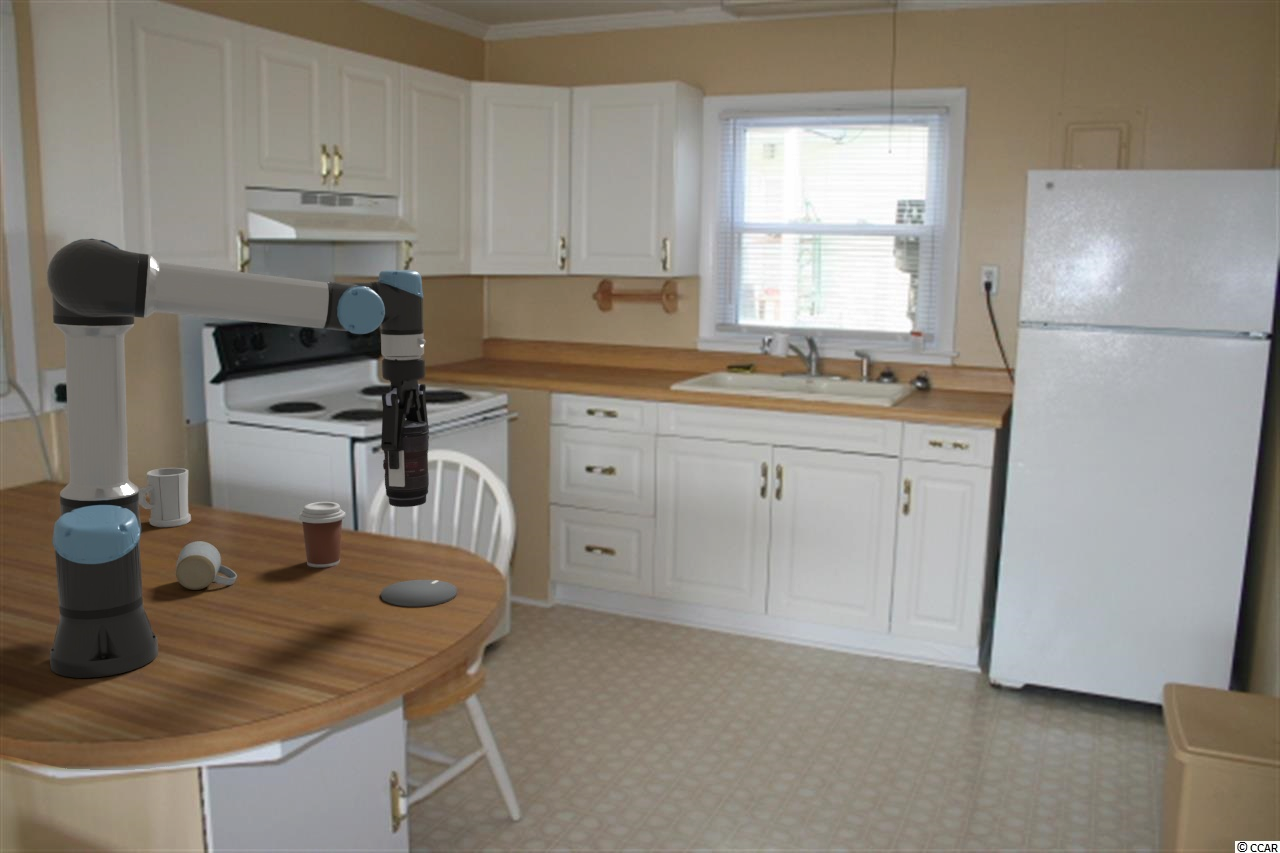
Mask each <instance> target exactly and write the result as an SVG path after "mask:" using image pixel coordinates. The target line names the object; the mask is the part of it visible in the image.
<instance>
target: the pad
mask: <svg viewBox="0 0 1280 853" xmlns="http://www.w3.org/2000/svg"><path fill="white" fill-rule="evenodd" d="M457 595H458V588H457V587H456V585H454V584H452V583H450V582H448V581H443V580H438V579H437V580H436V579H410V580H404V581H398V582H395V583H392V584H389V585H387V586H386V587H384V588H383V589H382V590H381V592H380V598H381V600H382V601H383V602H385V603H388V604H389V605H393V606H398V607H407V608H408V607H409V608H410V607H411V608H412V607H413V608H416V607H417V608H419V607H430V606H431V607H432V606H436V605H440V604H444V603H447V602H450V601H451V600H453V599H455V598H456V597H457Z"/></svg>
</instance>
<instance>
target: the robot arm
mask: <svg viewBox="0 0 1280 853" xmlns="http://www.w3.org/2000/svg"><path fill="white" fill-rule="evenodd" d="M46 273H47V275H46V276H47V278H46V280H47V284H48V288H49V290H50V292H51V295H52V296H51V297H52V301H51V302H52V319H53V322H52V324H53V325H54V327H55V328H57V329H58V330H59V331H60V332H61V333H62V334H63V336H64V349H65V350H64V351H65V352H64V355H65V376H66V378H65V380H66V385H65V386H66V405H67V406H66V408H67V412H66V413H67V431H68V432H67V434H68V459H69V460H68V461H69V462H68V463H69V482H68V484H67V485H66V486H64V488H62V490H60V492H59V500H60V502H59V503H60V516H59V518H57V520H55V523H54V527H53V535H52V544H53V547H54V554H55V566H56V568H55V569H56V579H57V580H56V581H57V591H58V592H57V593H58V594H57V595H58V596H57V597H58V608H59V610H58V611H59V619H58V620H59V621H58V623H57V627H56V632H55V637H54V642H53V645H52V646H51V648H50V652H49V660H50V661H49V663H50V669H51V671H52V672H53V673H55V674H56V675H60V676H63V677H66V678H67V677H68V678H76V679H81V678H82V679H83V678H84V679H86V678H87V679H88V678H89V679H90V678H100V677H109V676H110V677H111V676H114V675H118V674H124V673H126V672H127V673H128V672H130V671H133V670H136V669H139V668H142V667H144V666H146V665H148V664H149V663H151V662H152V661H154V660H155V659H156V658H157V657H158V655H159V646H158V637H157V636H156V633H155V632H153V629H152V625H151V622H150V620H149V618H148V615H147V613H146V611H145V608H144V601H143V600H144V599H143V585H142V584H143V582H142V580H143V579H142V567H141V565H142V564H141V535H142V525H141V519H140V505H139V489H140V488H139V487H138V486H137V485H136V484H134V483H133V481H132V482H131V480H130V479H129V462H128V461H129V459H128V458H129V457H128V456H129V454H128V425H127V424H128V420H127V417H128V416H127V386H126V385H127V384H126V380H127V378H126V377H127V376H126V352H125V351H126V347H125V346H126V345H125V343H126V342H125V336H126V334H127V333H128V332H129V331H130V330H131V329H132V328H133V327H135V318H142V319H146V318H148V317H150V316H151V315H153V314H154V313H161V314H172V315H181V316H182V315H183V316H190V317H191V316H193V317H201V318H213V319H222V320H223V319H224V320H232V321H244V322H254V323H265V324H266V323H267V324H274V325H275V324H276V325H284V326H285V325H286V326H295V327H304V328H314V329H315V328H316V329H326V330H333V331H341V332H342V331H344V332H350V333H351V334H354V335H365V334H369V333H372V332H374V331H375V330H377V329H378V328H380V343H381V344H380V346H381V350H380V351H381V355H382V356H383V357H384V358H383V359H382V360H381V371H382V372H381V373H382V378H383V380H386V381H389V382H390V384H389V392H388V393H387V392H386V393H382V394H381V403H382V418H381V419H382V424H381V439H380V440H381V442H380V447H381V450H382V451H383V452H384V451H388V467H389V486H397V487H404V486H405V472H404V450H401V447H402V440H403V427H404V426H405V420H408V421H413V422H417V423H419V421H423V422H426V423H427V429H428V441H430V440H429V439H430V435H429V434H430V431H429V430H430V429H429V419H428V409H427V400H426V392H427V391H426V389H427V388H426V387H427V386H426V384H424V383H419V382H418V381H420V380H423V379H424V378H425V376H426V364H425V363H426V362H425V359H424V357H422V356H423V355H425V344H426V343H427V341H426V339H424V338H425V337H424V297H425V296H424V293H423V292H424V291H423V290H424V289H423V282H422V275H421V274H420V273H419V272H418V271H416V270H407V269H404V270H401V269H400V270H398V269H397V270H396V269H394V270H382V271H380V272H379V274H378V278H377V281H370V282H347V281H345V282H344V281H343V282H337V281H336V282H332V281H327V282H326V281H317V280H309V279H303V278H302V279H301V278H292V277H284V276H278V275H277V276H275V275H266V274H258V273H251V272H241V271H234V270H225V269H217V268H216V269H215V268H209V267H199V266H191V265H185V264H184V265H183V264H175V263H167V262H159V261H158V260H156V258H154V257H153V256H152V254H147V253H139V252H133V251H128V250H124V249H120V248H119V247H118V246H117V245H115V244H113V243H111V242H109V241H106V240H103V239H95V238H81V239H77V240H74V241H72V242H70V243H68V244H66V245H65V246H63V247H61V248H60V249H59V250H58V251H56V253H55V254H54V255H53V257H52V258H51V260H50V262H49V264H48V268H47V272H46Z"/></svg>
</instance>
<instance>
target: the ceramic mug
mask: <svg viewBox="0 0 1280 853" xmlns="http://www.w3.org/2000/svg"><path fill="white" fill-rule="evenodd" d="M174 571H175V577H176V579H177V581H178V583H179V584H180V585H181V586H182V587H183V588H185V589H188V590H190V591H191V590H192V591H195V590H196V591H198V590H203V589H205V588H206V587H209V585H211V584H212V583H216V584H219V585H223V586H232V585H234V584H235V582H236V579H237V577H238V575H237V573H236V572H235V571H234V570H232V569H231V568H229V567H228V566H225V565H224V564H223V565H222V557H221V554H220V552H219V550H218V549H217V547H215V546H214V545H213V544H211V543H209V542H206V541H203V540H202V541H201V540H199V541H198V540H197V541H196V540H195V541H192V542H190V543H188V544H186V545H185V546H184V547H182V549H181V550H180V552H179V554H178V557H177V563H176V566H175V569H174ZM218 573H219V574H222V575H224V576H222V575H218Z"/></svg>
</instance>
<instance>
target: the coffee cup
mask: <svg viewBox="0 0 1280 853" xmlns="http://www.w3.org/2000/svg"><path fill="white" fill-rule="evenodd" d="M303 506H304V507H303V510H302V511H301V512H300V513H299V514H298V519H299V521H300V522H302V532H303V539H304V540H303V541H304V546H305V555H306V564H307V566H308V567H312V568H330V567H334V566H337V565H339V564H340V562H341V546H342V529H343V527H342V526H343V519H345V518H346V512H345V511H344V510H342V509H341V505H340V504H339V503H338V502H333V501H317V502H312V503H307V504H305V505H303Z"/></svg>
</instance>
